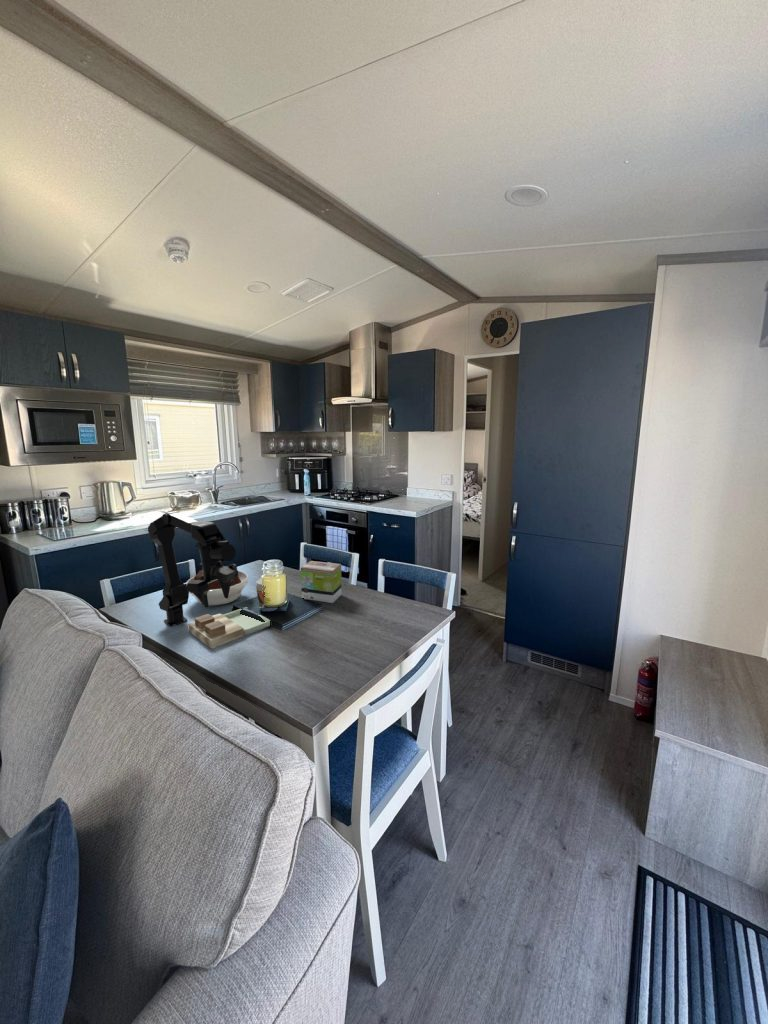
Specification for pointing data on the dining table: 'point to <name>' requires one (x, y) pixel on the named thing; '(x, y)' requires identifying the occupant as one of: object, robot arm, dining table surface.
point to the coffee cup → (260, 592)
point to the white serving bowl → (215, 589)
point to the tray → (247, 621)
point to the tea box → (321, 581)
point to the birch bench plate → (230, 634)
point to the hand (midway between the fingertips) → (216, 602)
